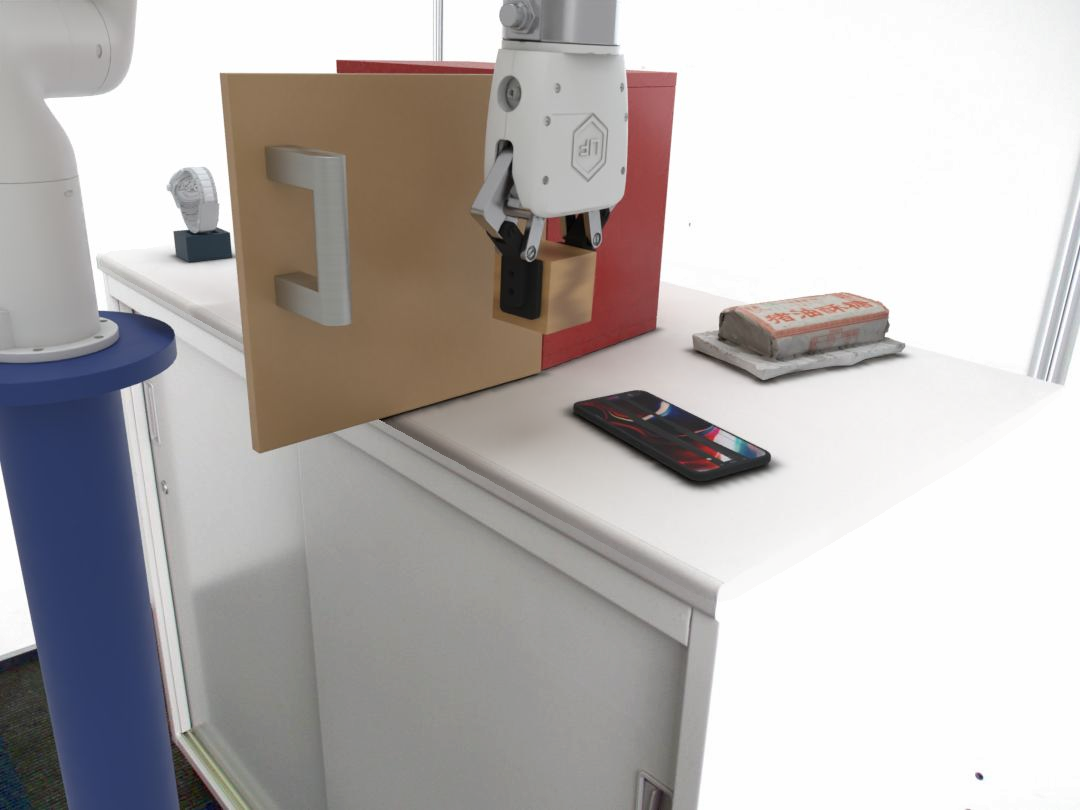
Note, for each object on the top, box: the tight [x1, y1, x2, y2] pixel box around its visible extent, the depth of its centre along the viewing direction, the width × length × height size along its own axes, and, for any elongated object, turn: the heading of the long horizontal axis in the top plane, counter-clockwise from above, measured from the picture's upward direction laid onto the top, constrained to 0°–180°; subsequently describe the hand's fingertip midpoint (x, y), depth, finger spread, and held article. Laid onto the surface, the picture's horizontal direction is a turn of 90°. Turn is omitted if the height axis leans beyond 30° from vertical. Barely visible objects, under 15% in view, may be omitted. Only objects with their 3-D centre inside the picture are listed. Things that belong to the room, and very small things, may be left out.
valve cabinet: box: [335, 59, 678, 371], centre depth 90 cm, size 18×26×24 cm
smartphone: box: [572, 389, 772, 482], centre depth 67 cm, size 7×1×15 cm
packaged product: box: [691, 291, 906, 381], centre depth 87 cm, size 18×5×10 cm
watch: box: [166, 166, 233, 263], centre depth 115 cm, size 6×8×11 cm
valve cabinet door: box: [219, 72, 546, 454], centre depth 65 cm, size 8×26×24 cm, turn 134°
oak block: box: [492, 239, 597, 335], centre depth 64 cm, size 5×5×5 cm
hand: (546, 304), depth 65 cm, fingers closed on oak block, 5 cm apart
